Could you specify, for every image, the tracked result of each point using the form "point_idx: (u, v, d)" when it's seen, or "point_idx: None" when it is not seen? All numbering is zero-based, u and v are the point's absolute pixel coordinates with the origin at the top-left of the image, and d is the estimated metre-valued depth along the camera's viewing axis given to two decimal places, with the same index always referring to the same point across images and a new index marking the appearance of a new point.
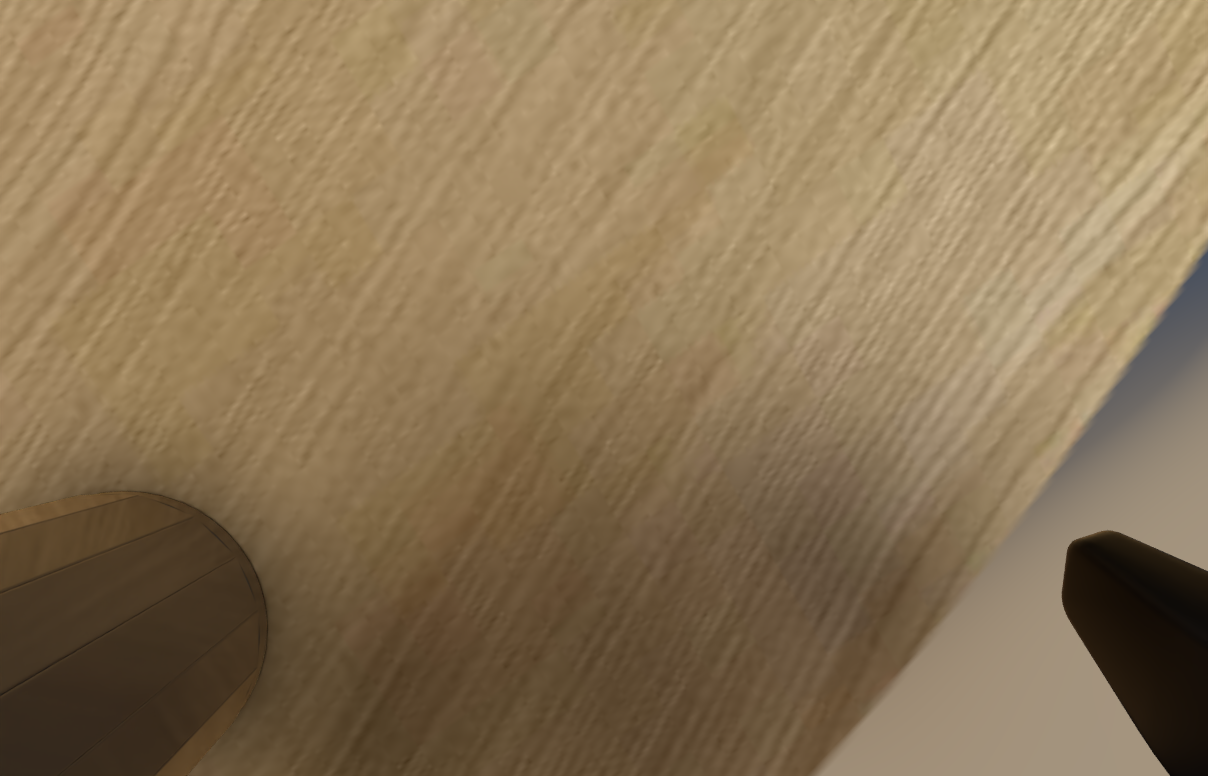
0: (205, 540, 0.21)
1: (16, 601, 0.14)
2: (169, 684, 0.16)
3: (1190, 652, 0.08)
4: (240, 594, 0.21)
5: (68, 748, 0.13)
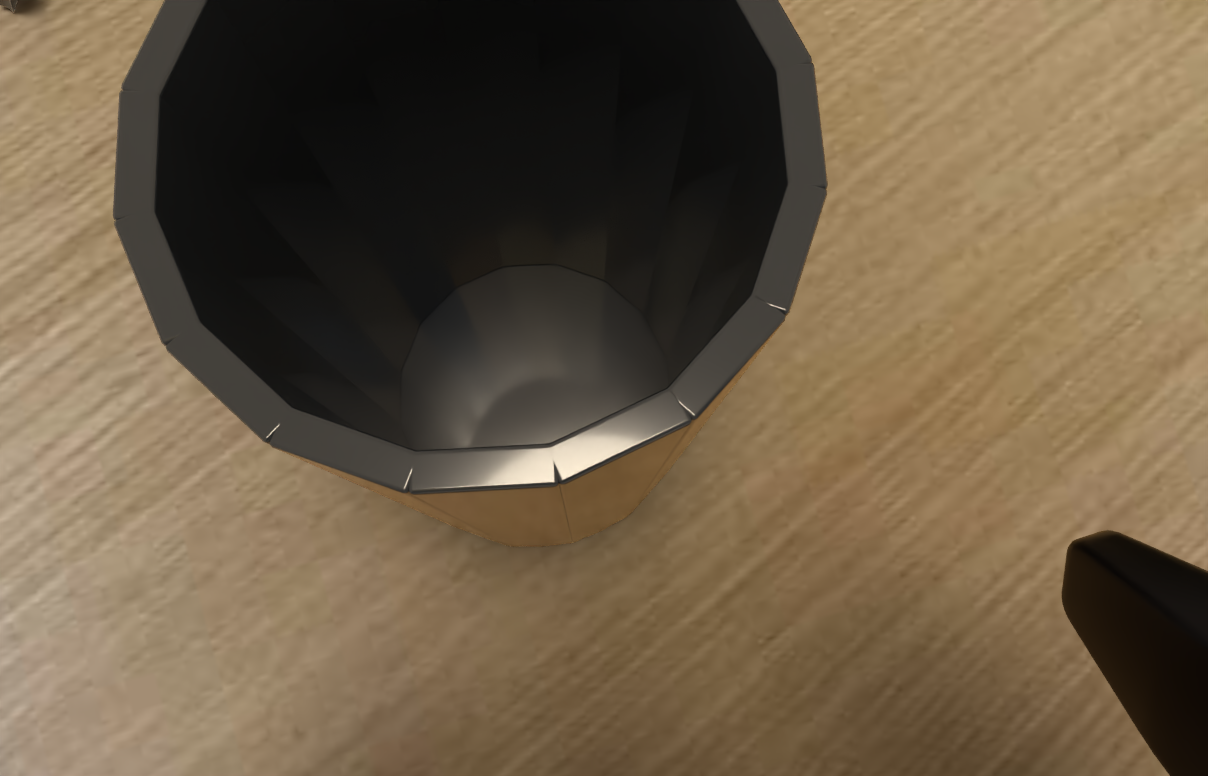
0: None
1: None
2: None
3: (1190, 652, 0.08)
4: None
5: None
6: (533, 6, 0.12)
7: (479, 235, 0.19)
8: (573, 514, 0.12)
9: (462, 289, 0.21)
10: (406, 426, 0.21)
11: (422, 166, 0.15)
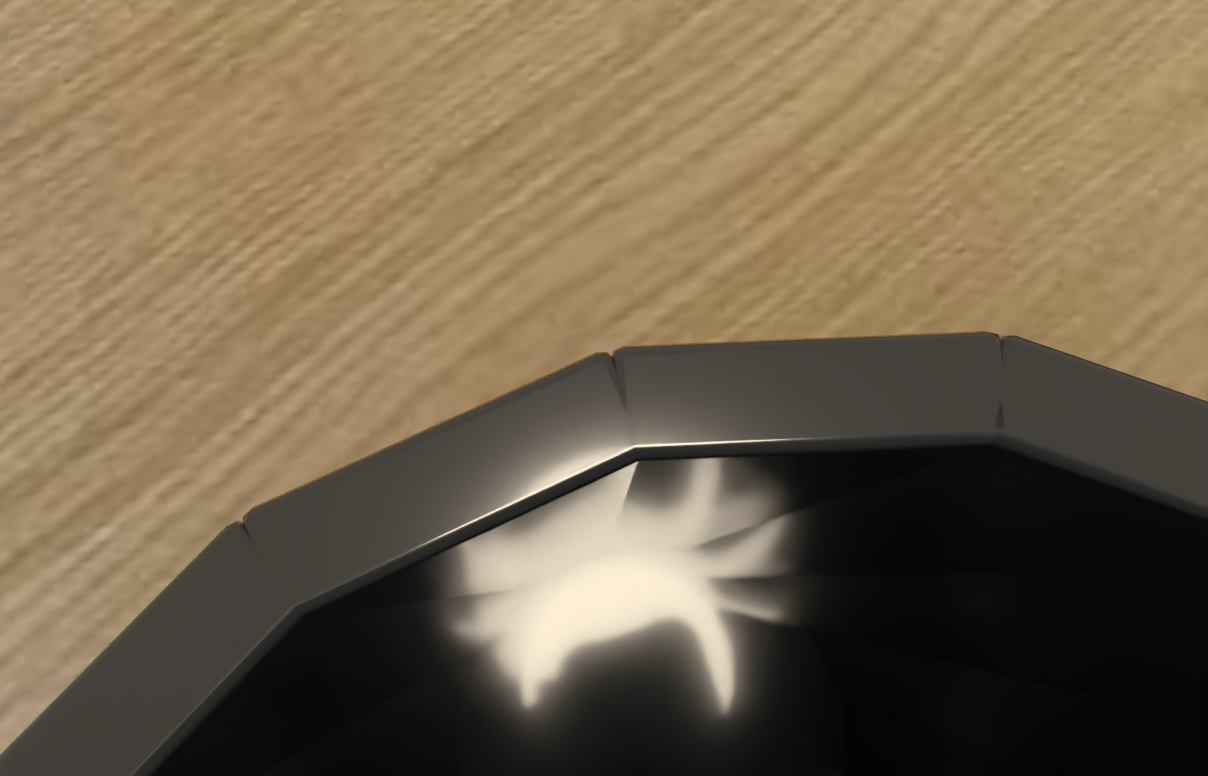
0: None
1: None
2: None
3: None
4: None
5: None
6: (823, 501, 0.05)
7: (584, 560, 0.13)
8: None
9: (546, 589, 0.15)
10: None
11: (522, 579, 0.09)
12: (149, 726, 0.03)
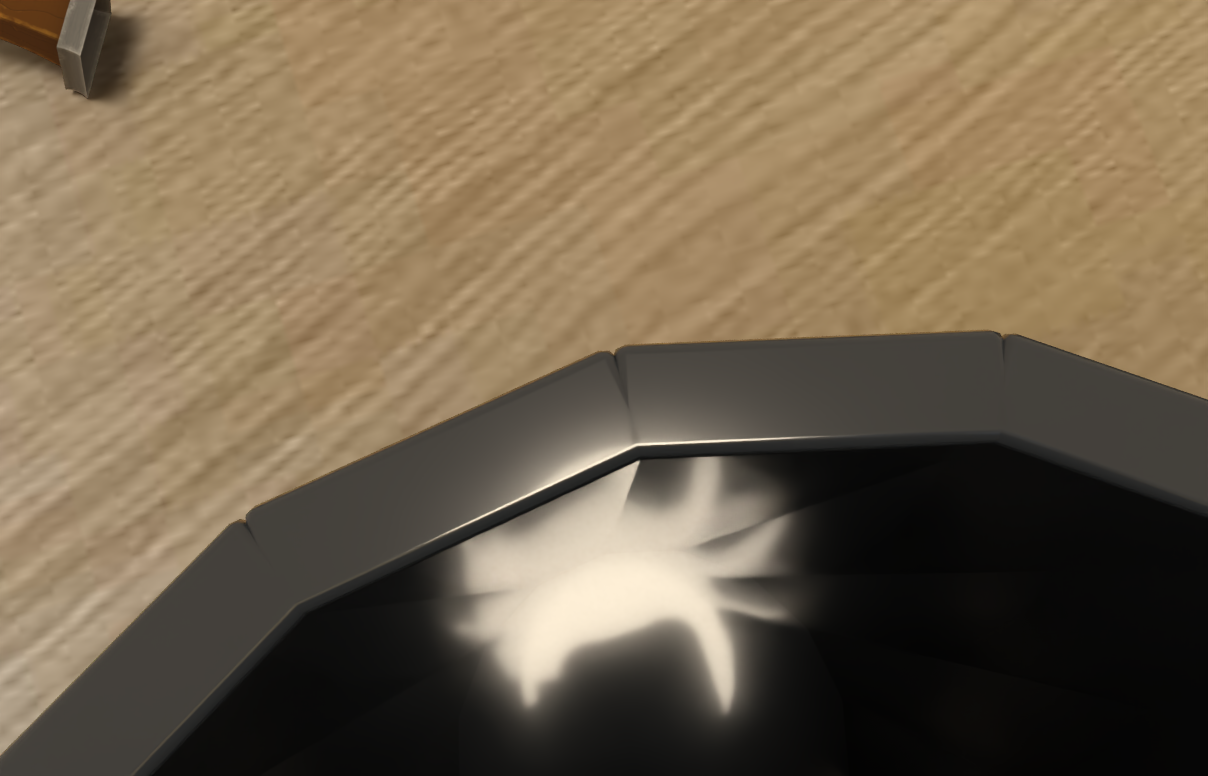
0: None
1: None
2: None
3: None
4: None
5: None
6: (825, 500, 0.05)
7: (585, 560, 0.13)
8: None
9: (547, 588, 0.15)
10: None
11: (523, 578, 0.09)
12: (152, 726, 0.03)
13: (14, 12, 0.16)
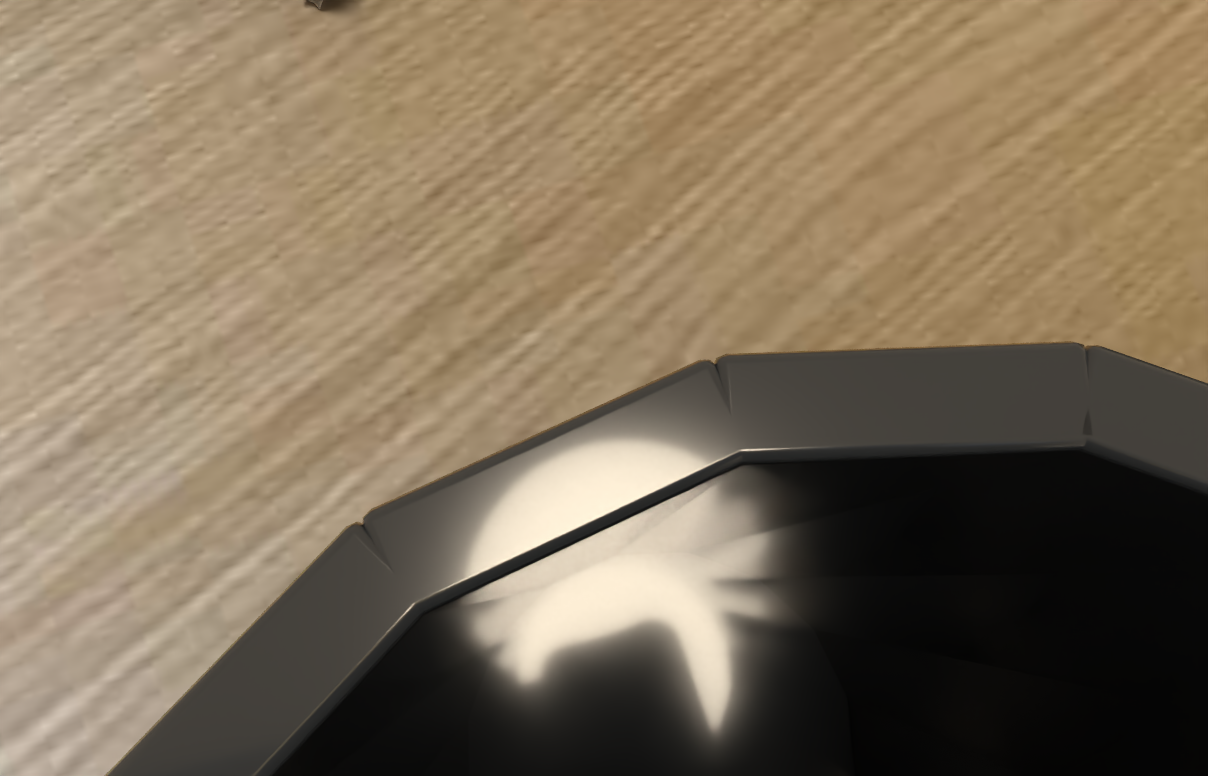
0: None
1: None
2: None
3: None
4: None
5: None
6: (872, 503, 0.06)
7: (598, 562, 0.13)
8: None
9: (556, 590, 0.15)
10: None
11: (550, 580, 0.09)
12: (279, 721, 0.03)
13: None
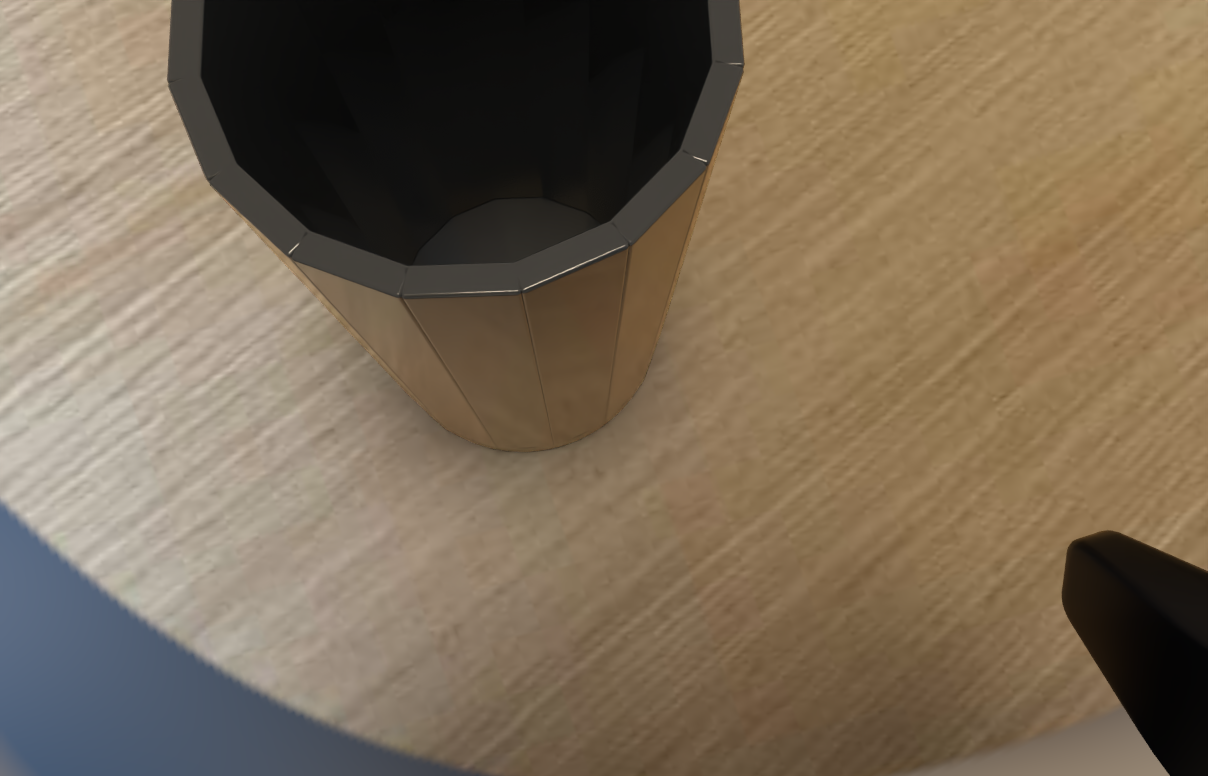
0: None
1: None
2: (683, 258, 0.18)
3: (1190, 652, 0.08)
4: None
5: None
6: None
7: (473, 163, 0.21)
8: (544, 369, 0.14)
9: (458, 219, 0.23)
10: None
11: (420, 87, 0.17)
12: None
13: None
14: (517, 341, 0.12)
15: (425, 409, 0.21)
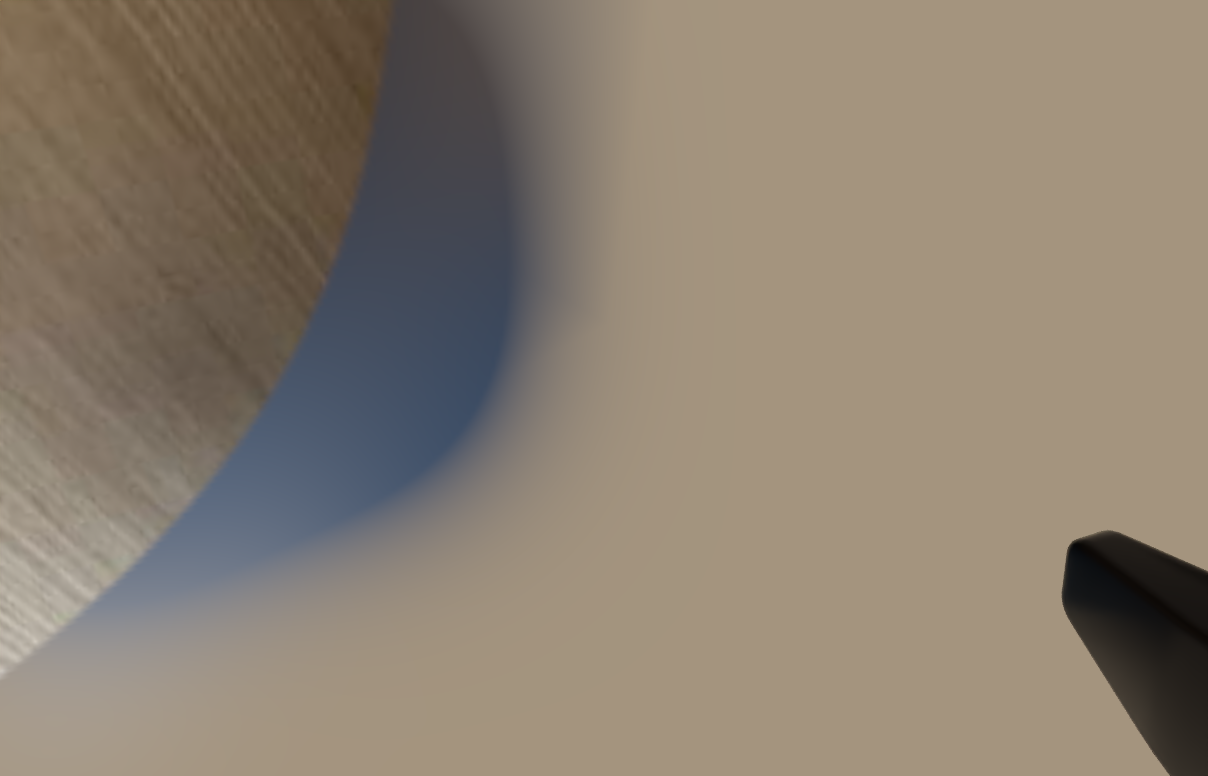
0: None
1: None
2: None
3: (1190, 652, 0.08)
4: None
5: None
6: None
7: None
8: None
9: None
10: None
11: None
12: None
13: None
14: None
15: None
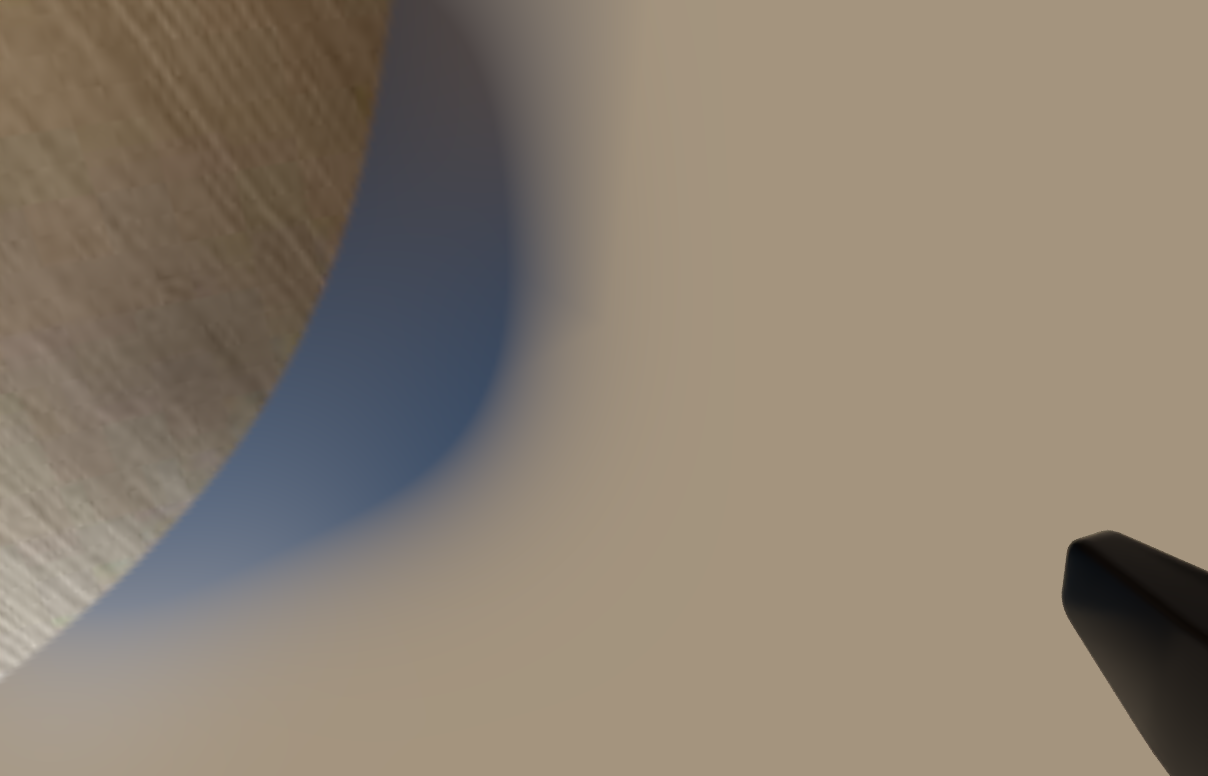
0: None
1: None
2: None
3: (1190, 652, 0.08)
4: None
5: None
6: None
7: None
8: None
9: None
10: None
11: None
12: None
13: None
14: None
15: None
